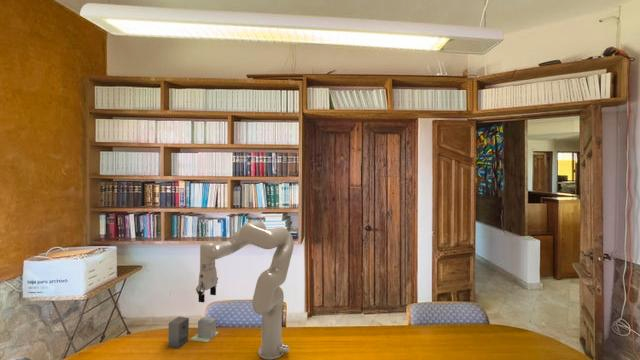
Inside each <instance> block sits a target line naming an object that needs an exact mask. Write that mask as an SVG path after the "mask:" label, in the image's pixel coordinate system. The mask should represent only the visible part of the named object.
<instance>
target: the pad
mask: <svg viewBox="0 0 640 360" xmlns="http://www.w3.org/2000/svg"><path fill="white" fill-rule="evenodd" d="M219 333H220V332H219V331H216V334H215V335H214V336H213V337H212V338H204V337H198V333H196V334H195V335H194V336H192V337H191V338H189V339H190V340H191V341H196V342H201V343H209V342H210V341H211V340H212V339H213V338H214V337H216V336H217V335H218V334H219Z"/></svg>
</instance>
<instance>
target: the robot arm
mask: <svg viewBox="0 0 640 360" xmlns="http://www.w3.org/2000/svg"><path fill="white" fill-rule="evenodd" d="M266 227H267V226H266V225H265V223H264V222H262V221H259V220H256V221H251V222H247V223H244V224H243V225H242V226H241V227H240V228H239V230H237V231H235V232H234V233H233V237H231V238H229V239H228V240H225V241H223V242H218V243H215V242H213V241H206V242H202V243H201V244H200V246H199V249H200V250H199V260H200V261H199V274H198V285H197V286H196V288H195V291H196V294H197V295H198V302H199V303H205V299H206V297H205V292H206V291H208V290H209V295H210V296H216V295H217V287H218V286H217V284H218V282H219V281H218V280H219V277H218V272H217V267H216V260H218V259H221V258H224V257H228V256H229V255H232V254H234V253H235V252H238V251H239V250H241V249H243V248H244V247H246V246H247V245H253V246H255V247H257V248H259V249H260V248H261V249H264V250H272V249H275V248H276V249H275V251H274V253H273V256H272V260H271V262H270V266H269V267H268V268H267V269H266V270H264V271H262V272H261V274H259V276H258V278H257V281H256V284H255V288H254V293H253V296H252V301H251V303H252V304H251V305H252V308H253V310H254V312H255V313H256V314H257V315H260V316H261V346H260V347H259V348H258V351H257V354H258V356H259V357H260V358H261V359H264V360H277V359H279V358H280V357H282V356H283V355H284V354H286V353H287V354H289V352H290V347H289V345H285V344H284V340H282V334H283V333H282V332H283V331H282V325H283V324H282V322H283V321H282V319H283V305H284V297H285V295H284V291H283V289H282V287H280V286H282V285H283V284H284V283H285V282H286V279H287V275H288V272H289V267H290V264H291V259H292V255H293V251H294V243H295V242H294V238H293V235H292V233H291V232H290V231H289V230H288V229H287V228H284V227H274V228H272V229H269V230H267V228H266Z"/></svg>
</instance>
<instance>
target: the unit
mask: <svg viewBox="0 0 640 360" xmlns="http://www.w3.org/2000/svg"><path fill="white" fill-rule="evenodd" d="M189 318H190V317H184V316H177V317H176V318H174V319H172V320H170V321H169V322H168V335H167V336H168V337H167V338H168V341H167V342H168V344H167V345H168V348H171V349H177V350H179V349H180V348H182V347H183V346H184V345H186V344H187V343H189V332H190V331H189V328H190V327H189V326H190V325H189V322H190V320H189Z"/></svg>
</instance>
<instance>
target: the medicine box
mask: <svg viewBox="0 0 640 360" xmlns="http://www.w3.org/2000/svg"><path fill="white" fill-rule="evenodd" d="M216 320H217V319H216V317H215V318H214V317H213V318H212V317H204V316H203V317H201V318H200V319H199V320H198V321H197V334H198V337H204V338H212V337H213V336H214V335H215V334H216V332H217V329H216V327H217V326H216V323H217V321H216ZM214 337H215V336H214ZM214 337H213V338H214ZM213 338H212V339H213Z"/></svg>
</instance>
